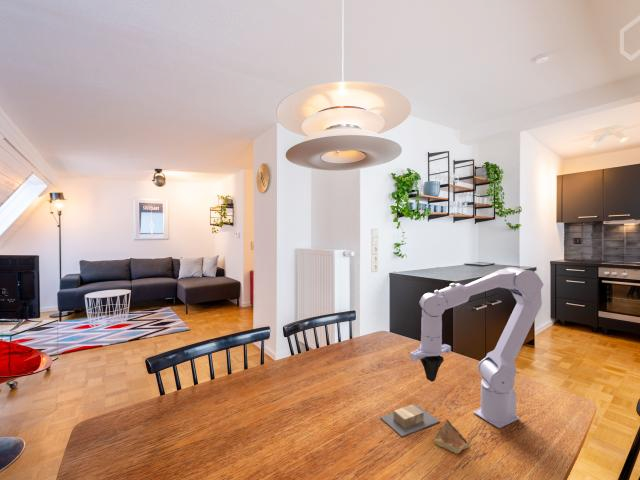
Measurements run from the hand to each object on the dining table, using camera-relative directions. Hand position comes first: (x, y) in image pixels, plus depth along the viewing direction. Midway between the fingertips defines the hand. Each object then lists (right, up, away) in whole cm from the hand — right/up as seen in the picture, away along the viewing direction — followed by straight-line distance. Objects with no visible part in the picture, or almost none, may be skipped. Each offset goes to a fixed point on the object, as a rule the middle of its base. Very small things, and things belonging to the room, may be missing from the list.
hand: (430, 379), depth 90 cm
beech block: (-5, -8, -2) cm, 10 cm away
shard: (0, -11, -11) cm, 15 cm away
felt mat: (-7, -10, -3) cm, 13 cm away
